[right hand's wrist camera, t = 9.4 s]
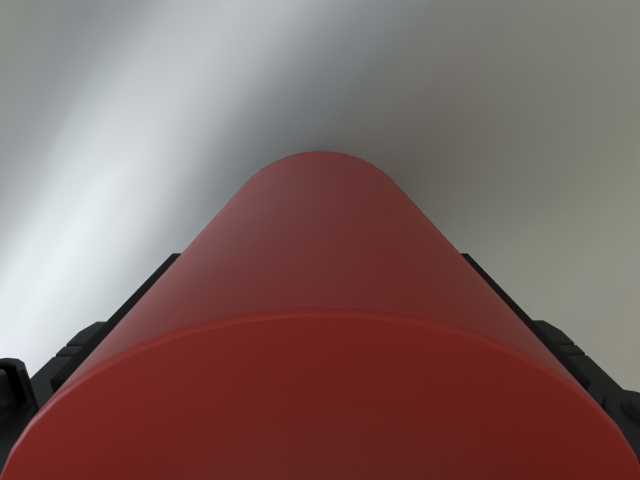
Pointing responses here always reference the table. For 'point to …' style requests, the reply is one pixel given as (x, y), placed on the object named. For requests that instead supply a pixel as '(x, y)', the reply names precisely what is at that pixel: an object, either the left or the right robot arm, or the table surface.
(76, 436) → the can
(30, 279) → the table surface
